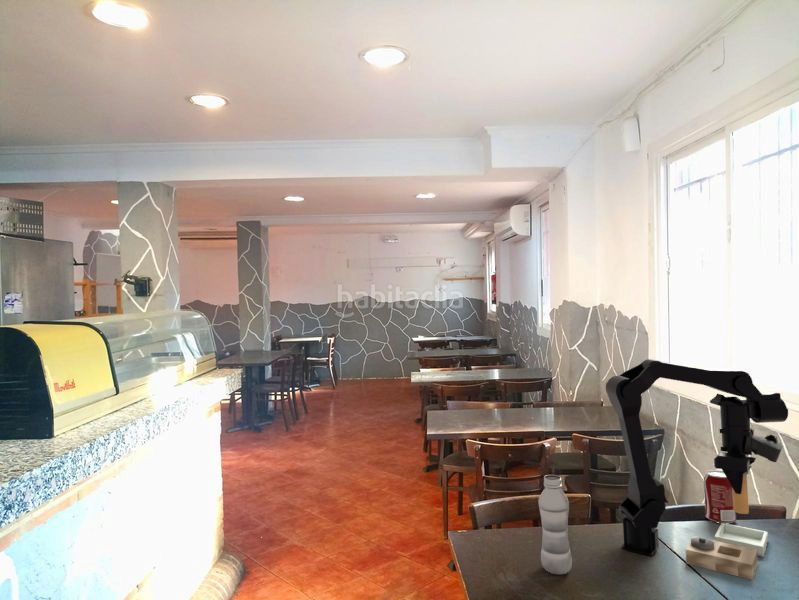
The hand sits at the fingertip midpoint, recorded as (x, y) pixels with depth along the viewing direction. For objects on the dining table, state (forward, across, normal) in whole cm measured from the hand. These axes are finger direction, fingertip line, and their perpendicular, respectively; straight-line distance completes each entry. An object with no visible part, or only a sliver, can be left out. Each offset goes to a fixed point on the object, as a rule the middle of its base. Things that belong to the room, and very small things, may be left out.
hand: (739, 491), depth 121 cm
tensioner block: (+12, -13, +2) cm, 18 cm away
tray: (+12, 0, 0) cm, 12 cm away
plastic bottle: (+12, -36, +29) cm, 48 cm away
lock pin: (+4, 0, 0) cm, 5 cm away
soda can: (+12, +12, +6) cm, 19 cm away
